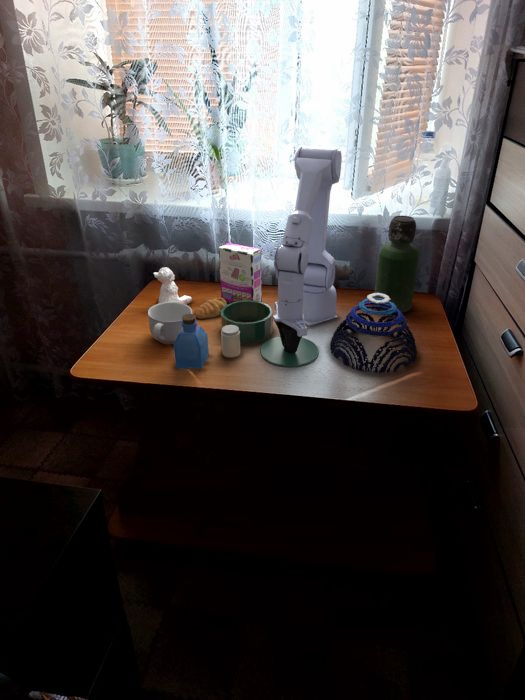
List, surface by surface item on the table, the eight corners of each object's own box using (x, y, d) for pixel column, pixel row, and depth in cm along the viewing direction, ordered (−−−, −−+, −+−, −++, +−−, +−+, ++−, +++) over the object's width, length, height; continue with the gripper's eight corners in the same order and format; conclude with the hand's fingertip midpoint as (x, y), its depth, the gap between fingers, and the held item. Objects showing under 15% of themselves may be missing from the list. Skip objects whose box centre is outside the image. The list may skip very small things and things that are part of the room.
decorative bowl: (313, 344, 133) (316, 291, 125) (376, 324, 141) (382, 273, 134) (366, 384, 118) (372, 326, 111) (432, 359, 127) (442, 303, 119)
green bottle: (371, 297, 155) (381, 212, 143) (408, 298, 155) (421, 212, 142) (375, 314, 147) (385, 224, 134) (414, 315, 146) (427, 225, 133)
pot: (256, 316, 146) (256, 296, 143) (282, 336, 136) (282, 315, 133) (213, 328, 140) (212, 307, 137) (236, 350, 131) (236, 328, 128)
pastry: (202, 323, 143) (201, 310, 141) (189, 315, 147) (188, 302, 145) (231, 313, 148) (230, 300, 146) (217, 305, 152) (216, 293, 150)
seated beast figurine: (193, 301, 154) (189, 262, 148) (181, 315, 147) (177, 274, 141) (162, 298, 156) (157, 259, 150) (149, 311, 149) (144, 271, 143)
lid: (297, 334, 137) (298, 314, 134) (329, 358, 127) (331, 338, 124) (250, 348, 131) (249, 328, 128) (280, 375, 121) (280, 354, 118)
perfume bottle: (201, 370, 123) (198, 324, 117) (175, 368, 124) (171, 322, 118) (208, 356, 128) (205, 311, 122) (184, 354, 129) (179, 309, 123)
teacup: (167, 325, 142) (164, 297, 138) (202, 333, 138) (200, 305, 134) (134, 349, 131) (130, 320, 127) (171, 359, 127) (168, 330, 123)
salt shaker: (235, 347, 132) (234, 322, 128) (243, 356, 128) (243, 330, 125) (219, 352, 130) (217, 327, 126) (227, 361, 127) (226, 335, 123)
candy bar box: (262, 303, 153) (262, 248, 144) (253, 310, 149) (252, 254, 140) (230, 295, 158) (228, 241, 149) (220, 301, 154) (217, 246, 146)
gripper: (262, 287, 126) (263, 337, 133) (286, 313, 114) (285, 367, 121) (290, 282, 128) (289, 332, 135) (316, 308, 117) (314, 361, 124)
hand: (289, 348), depth 128 cm, fingers closed on lid, 2 cm apart
